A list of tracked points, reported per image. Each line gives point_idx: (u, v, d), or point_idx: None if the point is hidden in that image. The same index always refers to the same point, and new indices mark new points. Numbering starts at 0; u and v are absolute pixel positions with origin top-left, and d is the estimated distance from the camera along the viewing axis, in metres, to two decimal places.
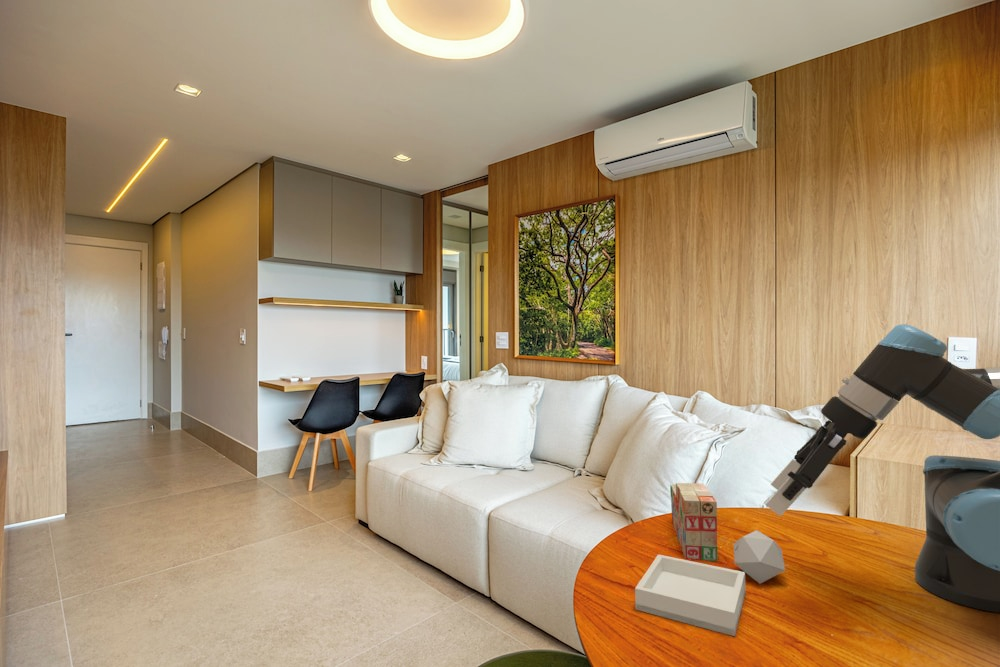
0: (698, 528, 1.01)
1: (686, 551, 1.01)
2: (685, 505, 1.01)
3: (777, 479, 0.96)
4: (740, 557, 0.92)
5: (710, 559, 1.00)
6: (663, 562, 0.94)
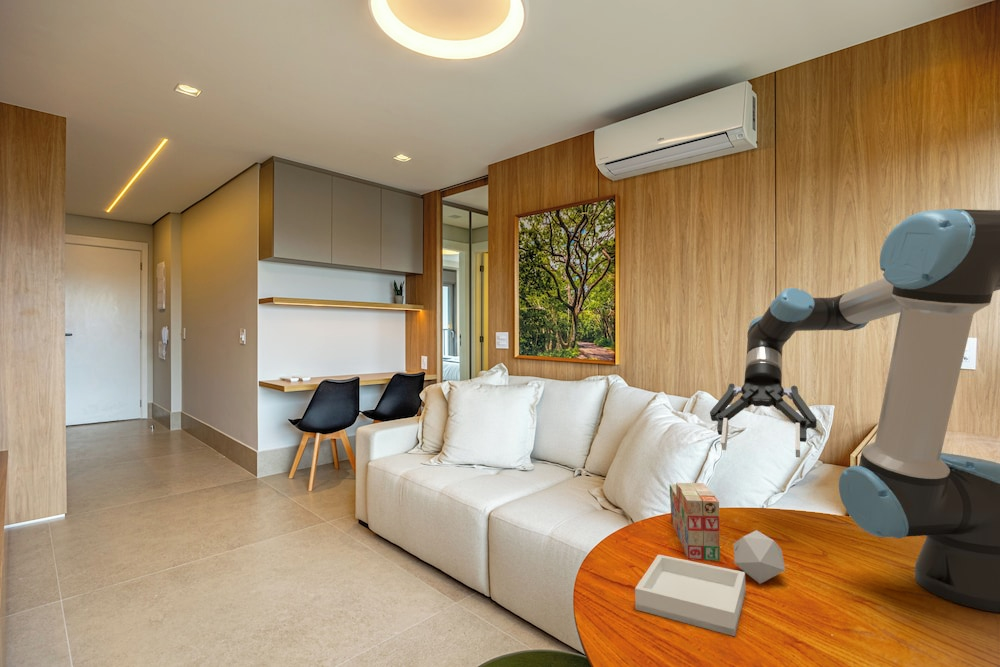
0: (700, 527, 1.01)
1: (688, 551, 1.01)
2: (688, 505, 1.01)
3: None
4: (740, 557, 0.92)
5: (713, 559, 1.00)
6: (663, 562, 0.94)
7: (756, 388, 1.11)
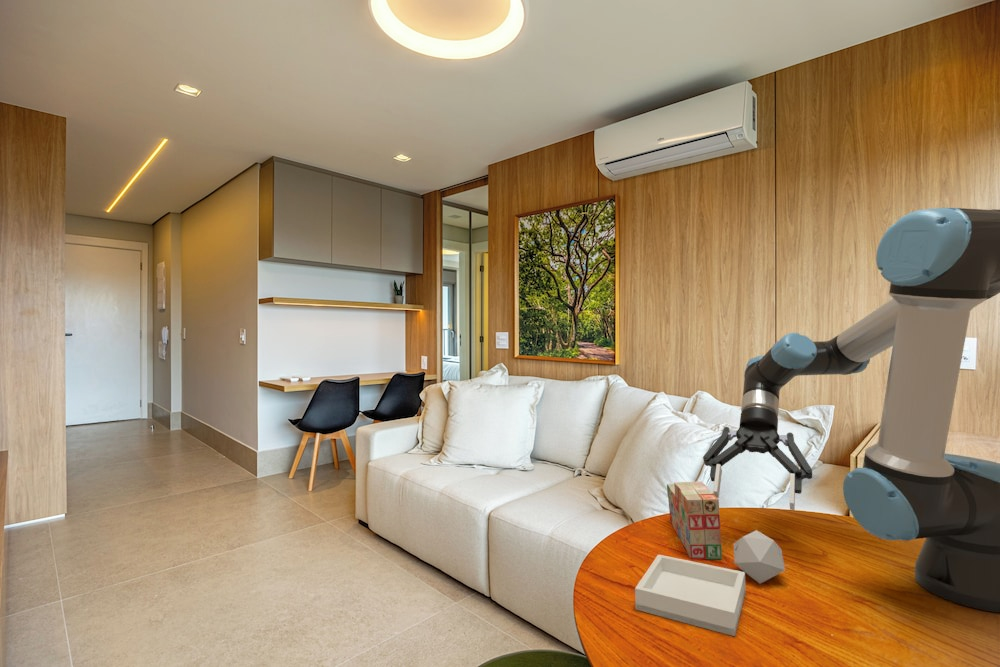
0: (701, 526, 1.01)
1: (691, 550, 1.01)
2: (688, 504, 1.01)
3: None
4: (740, 557, 0.92)
5: (715, 557, 1.00)
6: (663, 562, 0.94)
7: (751, 434, 1.08)
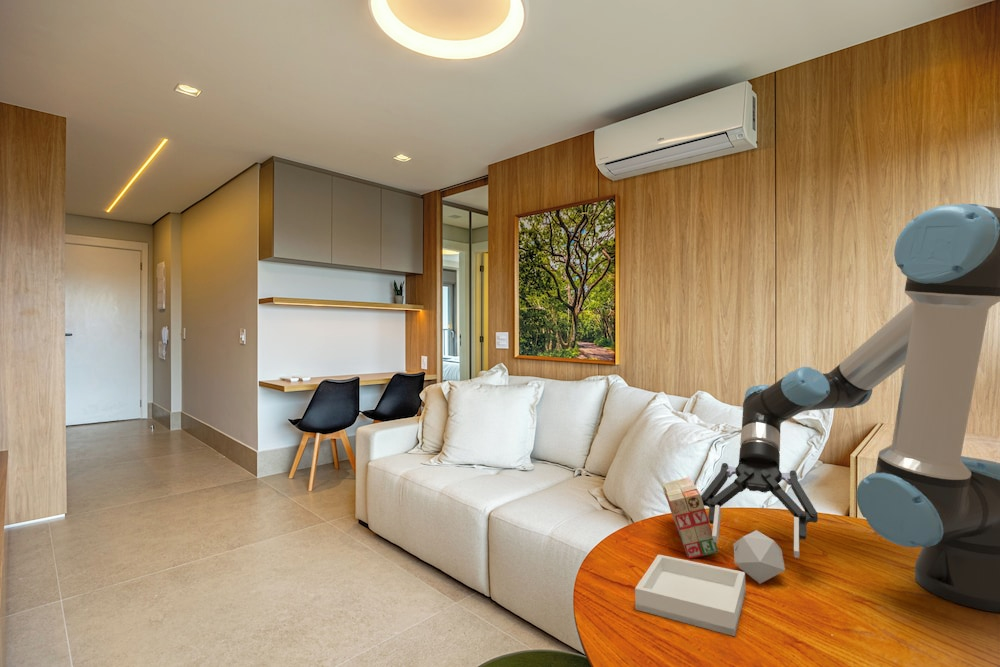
0: (690, 524, 1.01)
1: (686, 550, 1.01)
2: (672, 505, 1.02)
3: None
4: (740, 557, 0.92)
5: (712, 552, 1.00)
6: (663, 562, 0.94)
7: (751, 471, 1.01)
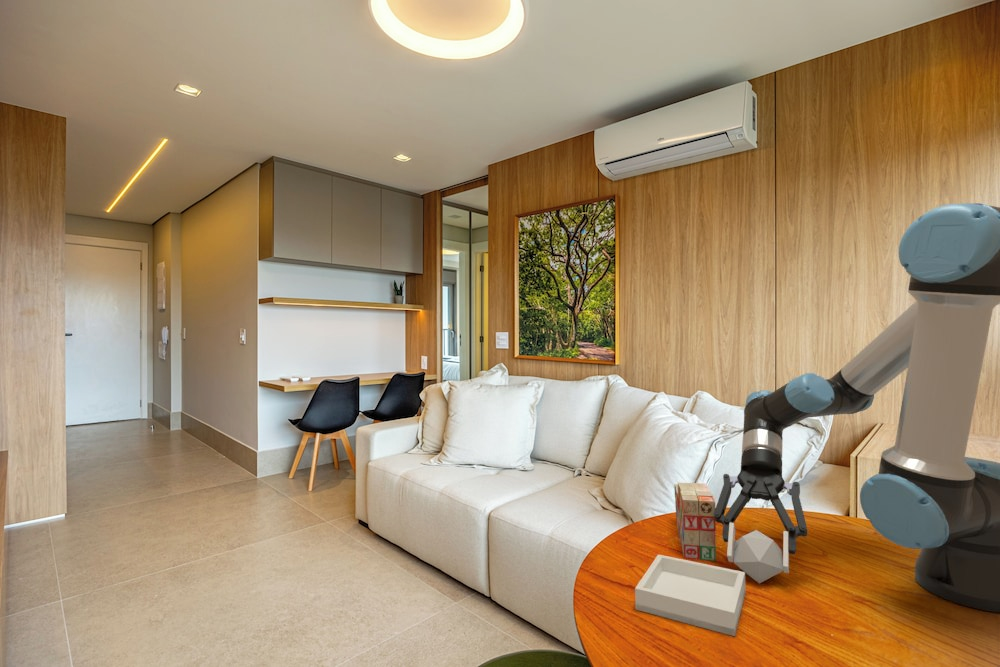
0: (696, 527, 1.01)
1: (684, 550, 1.01)
2: (683, 504, 1.02)
3: None
4: (739, 557, 0.92)
5: (709, 559, 1.00)
6: (663, 562, 0.94)
7: (754, 478, 0.99)
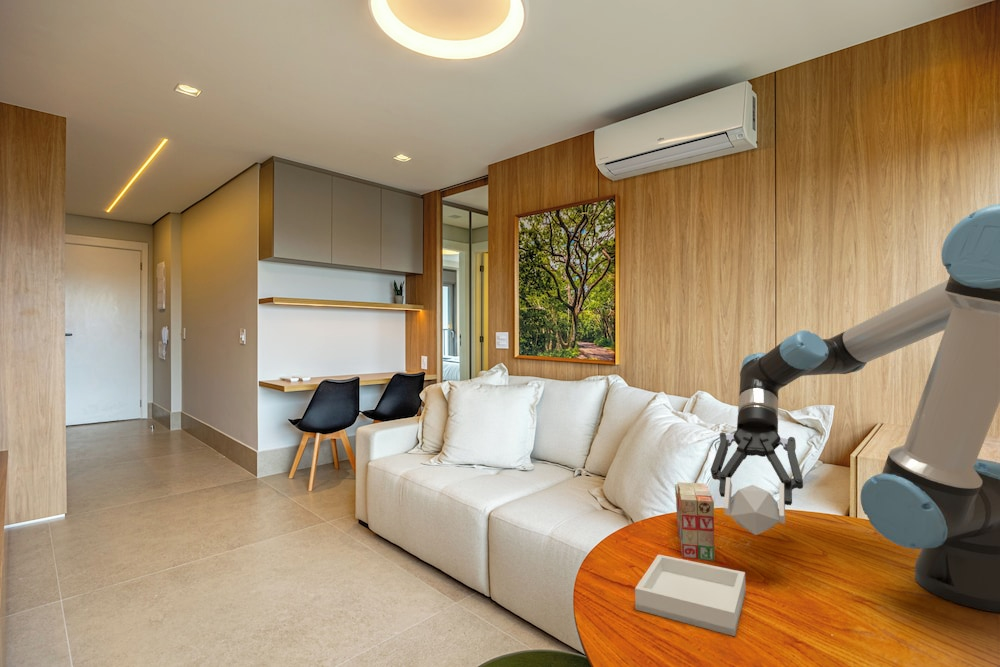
0: (695, 527, 1.01)
1: (683, 550, 1.02)
2: (682, 504, 1.02)
3: None
4: (736, 510, 0.93)
5: (707, 559, 1.00)
6: (663, 562, 0.94)
7: (750, 435, 1.00)
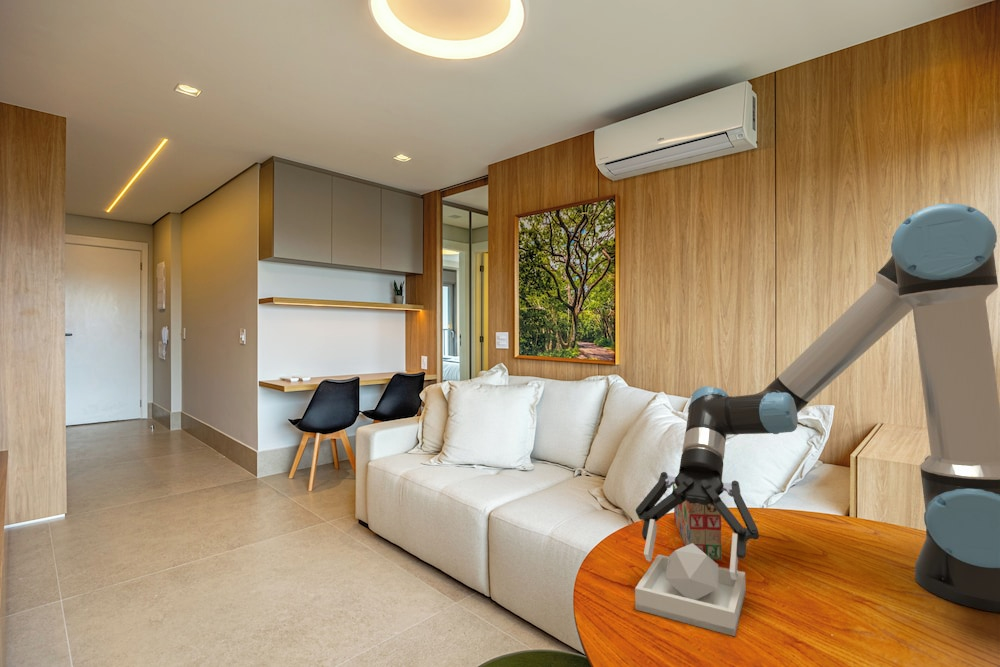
0: (702, 526, 1.01)
1: None
2: (689, 504, 1.02)
3: None
4: (670, 573, 0.84)
5: (715, 558, 1.01)
6: (663, 562, 0.94)
7: (691, 481, 0.92)
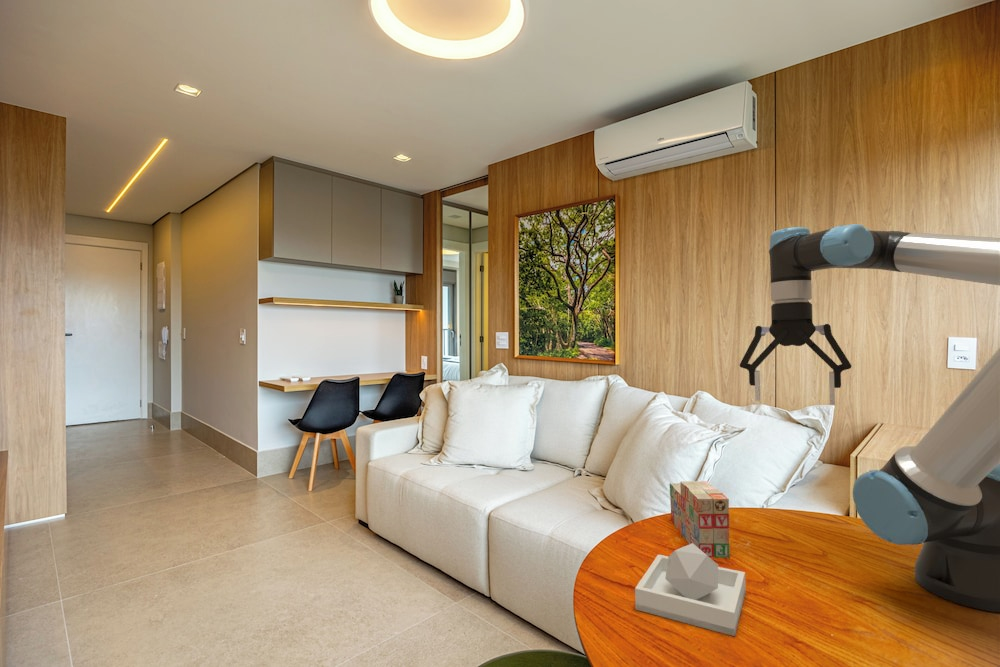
0: (711, 525, 1.02)
1: None
2: (698, 503, 1.02)
3: None
4: (670, 573, 0.84)
5: (723, 556, 1.02)
6: (663, 562, 0.94)
7: (786, 333, 1.05)
